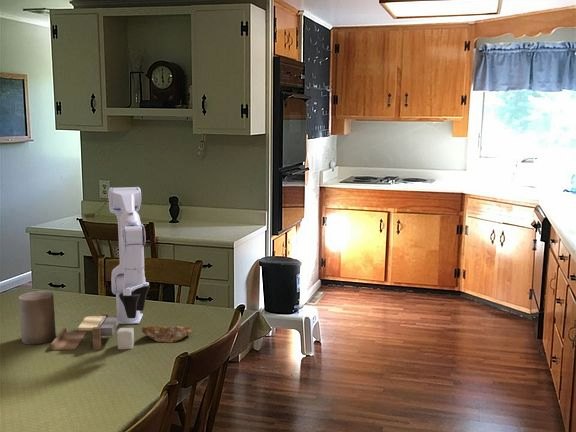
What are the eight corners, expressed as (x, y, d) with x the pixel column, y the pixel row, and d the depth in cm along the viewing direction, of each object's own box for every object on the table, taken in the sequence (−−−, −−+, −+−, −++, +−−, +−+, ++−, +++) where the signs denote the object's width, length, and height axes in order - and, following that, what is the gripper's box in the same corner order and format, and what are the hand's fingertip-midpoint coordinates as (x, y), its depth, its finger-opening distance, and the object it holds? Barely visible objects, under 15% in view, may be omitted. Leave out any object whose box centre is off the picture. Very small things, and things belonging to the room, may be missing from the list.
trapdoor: (86, 324, 193) (86, 315, 193) (118, 324, 194) (118, 315, 194) (78, 337, 182) (77, 327, 182) (112, 336, 183) (111, 327, 183)
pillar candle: (63, 336, 192) (60, 288, 190) (38, 346, 183) (35, 296, 181) (39, 332, 196) (36, 285, 194) (13, 342, 187) (10, 292, 185)
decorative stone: (142, 318, 195) (191, 321, 198) (141, 332, 195) (190, 334, 198) (141, 328, 185) (192, 331, 188) (140, 342, 186) (191, 345, 189)
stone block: (120, 344, 186) (119, 328, 185) (134, 344, 186) (133, 327, 186) (117, 349, 182) (117, 332, 181) (132, 348, 182) (131, 332, 182)
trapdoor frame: (63, 333, 195) (63, 313, 194) (109, 332, 196) (109, 312, 195) (50, 350, 180) (49, 329, 179) (100, 349, 182) (99, 328, 181)
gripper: (140, 273, 173) (141, 321, 175) (154, 262, 187) (156, 307, 189) (115, 273, 173) (116, 321, 175) (131, 262, 188) (133, 307, 189)
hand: (135, 314), depth 182 cm, fingers open, 7 cm apart
